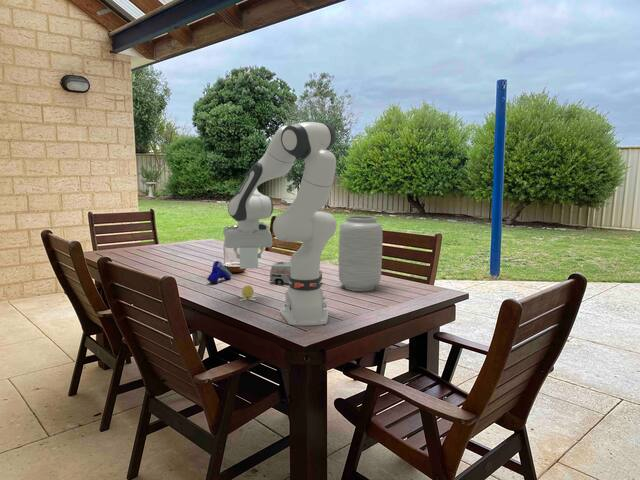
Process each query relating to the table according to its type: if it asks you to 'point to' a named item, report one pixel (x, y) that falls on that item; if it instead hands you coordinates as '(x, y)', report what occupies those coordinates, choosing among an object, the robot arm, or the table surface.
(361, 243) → the vase
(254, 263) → the grey block
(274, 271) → the toy car
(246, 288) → the ball
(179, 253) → the table surface
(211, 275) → the toy gun
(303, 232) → the robot arm
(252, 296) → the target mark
